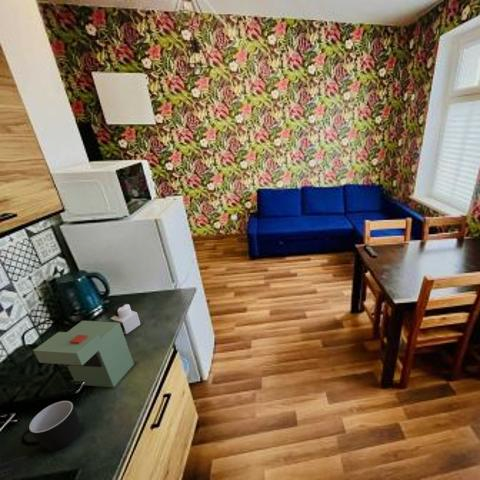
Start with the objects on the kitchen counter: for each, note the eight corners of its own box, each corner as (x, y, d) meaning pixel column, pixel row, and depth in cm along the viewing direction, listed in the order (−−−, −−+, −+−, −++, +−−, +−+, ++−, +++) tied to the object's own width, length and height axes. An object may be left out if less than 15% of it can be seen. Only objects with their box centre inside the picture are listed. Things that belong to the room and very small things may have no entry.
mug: (86, 417, 83) (75, 395, 79) (81, 444, 76) (69, 421, 72) (34, 439, 77) (19, 416, 74) (23, 470, 70) (6, 446, 67)
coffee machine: (59, 400, 88) (31, 348, 80) (99, 361, 103) (79, 314, 94) (99, 403, 88) (75, 351, 79) (134, 364, 102) (117, 316, 93)
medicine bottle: (114, 331, 119) (106, 309, 114) (129, 321, 125) (122, 299, 120) (126, 334, 117) (118, 312, 112) (141, 324, 123) (134, 302, 118)
